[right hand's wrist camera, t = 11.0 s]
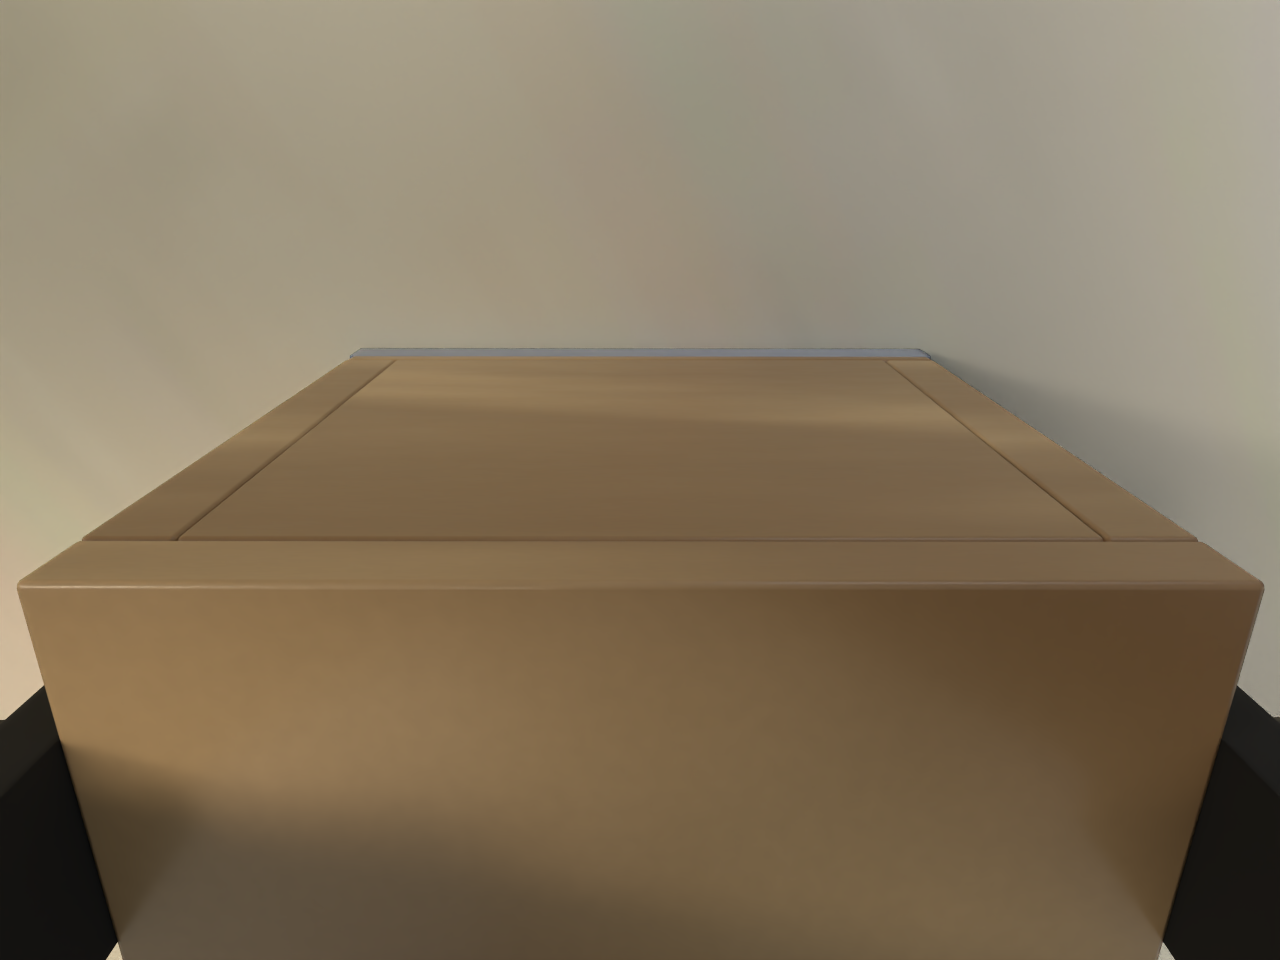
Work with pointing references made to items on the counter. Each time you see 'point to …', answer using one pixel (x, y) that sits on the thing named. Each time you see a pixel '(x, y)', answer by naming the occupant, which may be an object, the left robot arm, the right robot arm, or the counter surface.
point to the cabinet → (640, 672)
